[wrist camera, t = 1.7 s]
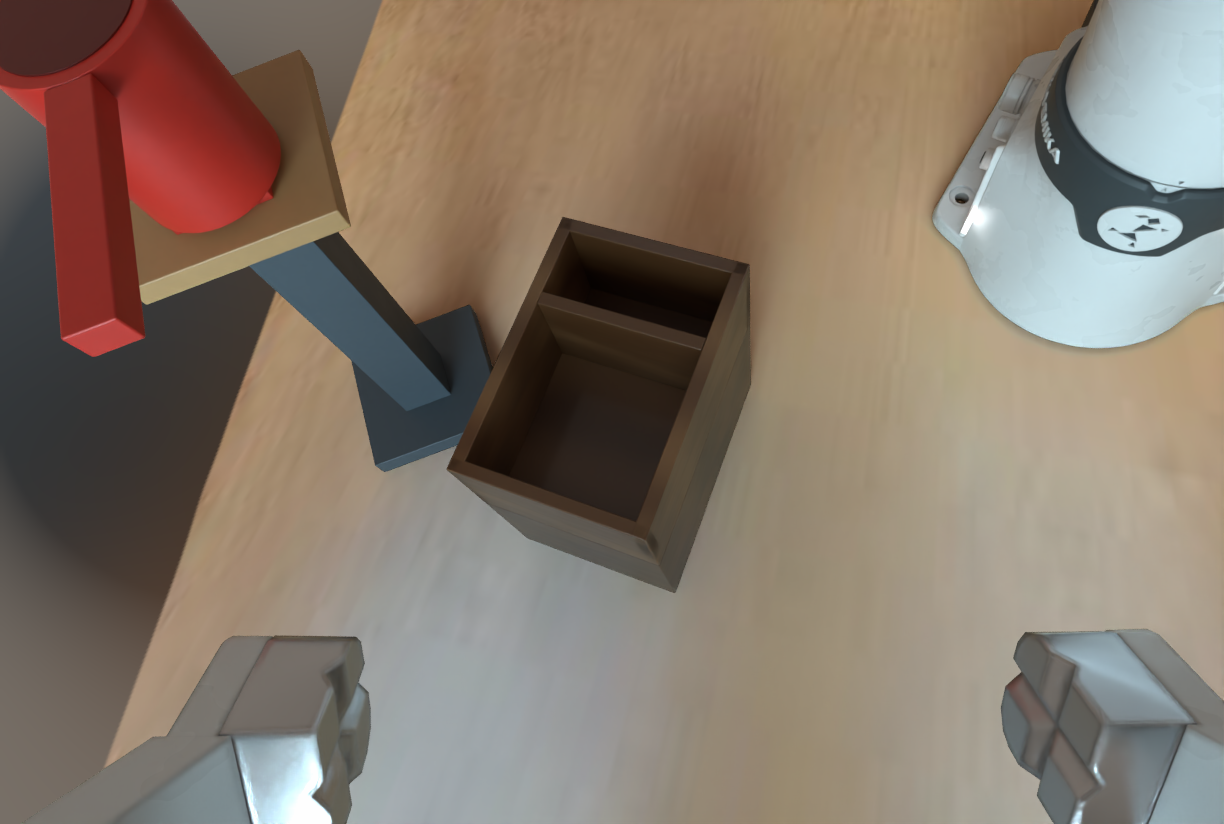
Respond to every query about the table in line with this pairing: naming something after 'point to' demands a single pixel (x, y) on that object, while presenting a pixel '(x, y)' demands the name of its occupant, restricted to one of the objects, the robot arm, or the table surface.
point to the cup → (129, 143)
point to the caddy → (614, 400)
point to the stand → (329, 280)
